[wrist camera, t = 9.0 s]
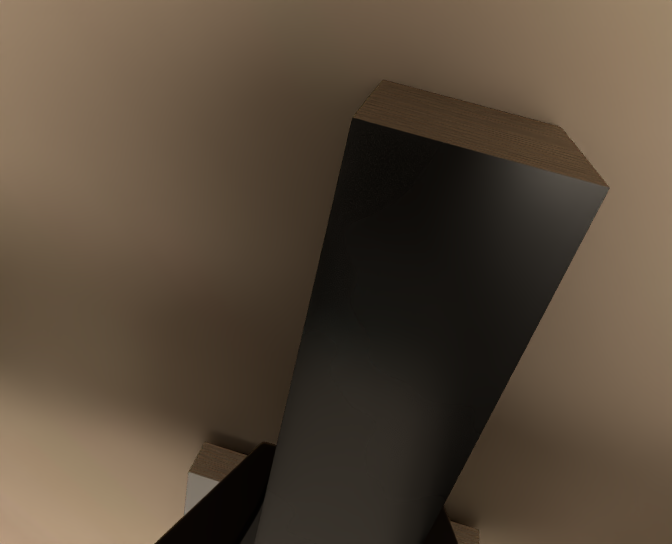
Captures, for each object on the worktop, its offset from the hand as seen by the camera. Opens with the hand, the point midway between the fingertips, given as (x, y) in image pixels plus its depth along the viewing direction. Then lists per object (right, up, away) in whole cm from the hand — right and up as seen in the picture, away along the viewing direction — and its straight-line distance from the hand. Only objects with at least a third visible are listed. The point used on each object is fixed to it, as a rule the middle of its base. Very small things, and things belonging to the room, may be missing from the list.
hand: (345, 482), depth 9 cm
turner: (0, +1, +1) cm, 1 cm away
